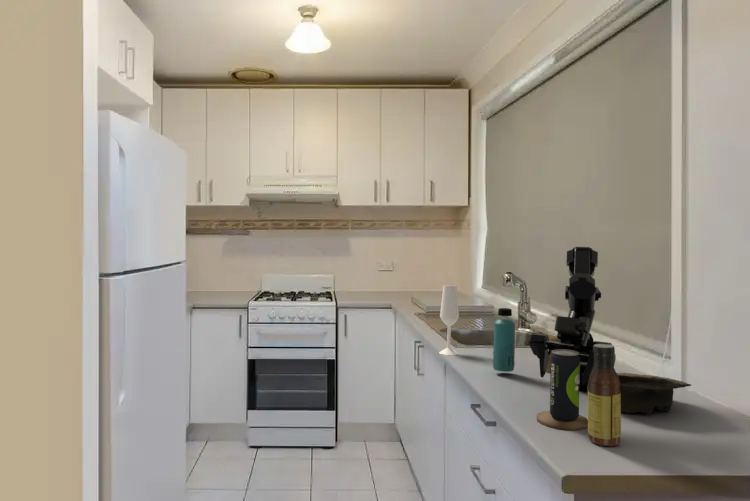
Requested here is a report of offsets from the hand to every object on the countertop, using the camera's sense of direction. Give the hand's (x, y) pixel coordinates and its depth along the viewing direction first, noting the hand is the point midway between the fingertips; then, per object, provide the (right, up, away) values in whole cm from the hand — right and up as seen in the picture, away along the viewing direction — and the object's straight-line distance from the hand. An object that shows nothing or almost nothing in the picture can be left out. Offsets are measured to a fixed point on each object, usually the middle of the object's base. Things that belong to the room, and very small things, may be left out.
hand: (561, 379), depth 127 cm
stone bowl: (+23, -10, +16) cm, 30 cm away
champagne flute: (-16, -8, +75) cm, 77 cm away
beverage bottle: (-3, -9, +45) cm, 46 cm away
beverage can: (+1, -9, +1) cm, 9 cm away
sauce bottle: (+5, -10, -11) cm, 16 cm away
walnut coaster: (0, -10, +1) cm, 10 cm away
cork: (+14, -9, +49) cm, 52 cm away
